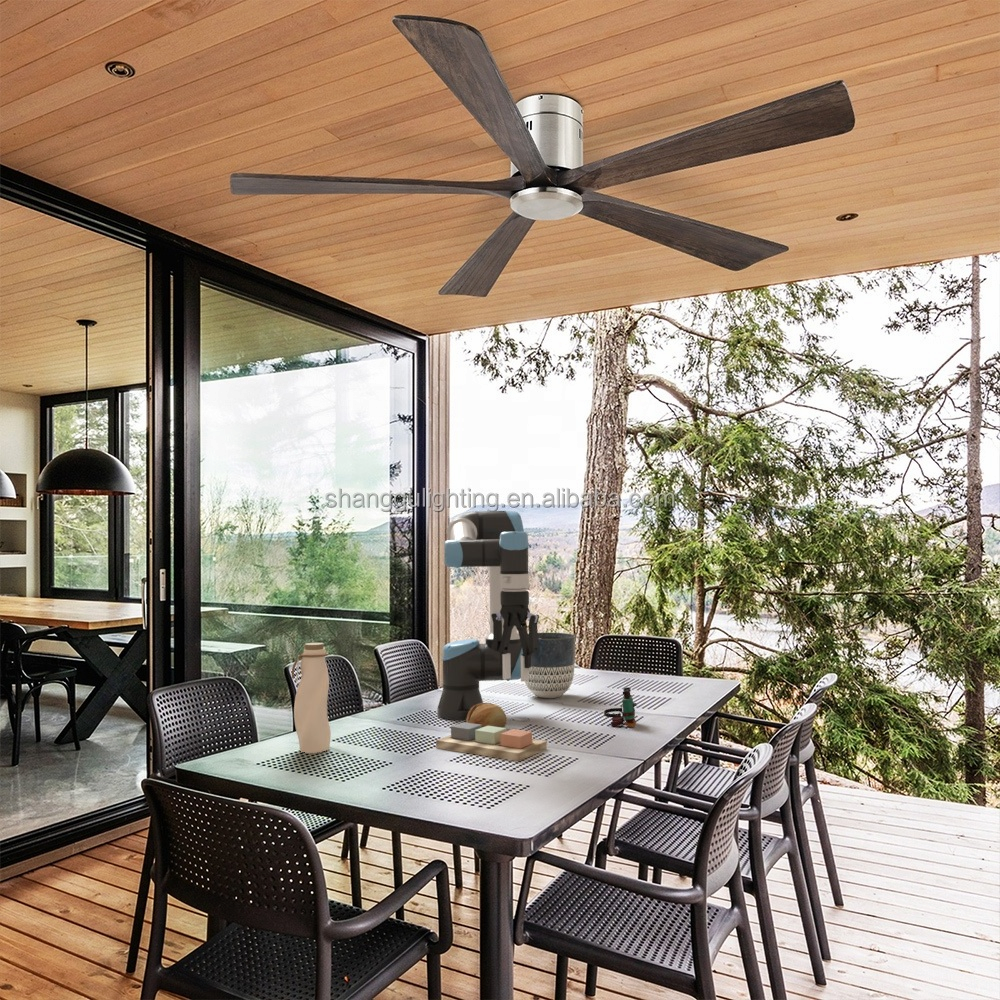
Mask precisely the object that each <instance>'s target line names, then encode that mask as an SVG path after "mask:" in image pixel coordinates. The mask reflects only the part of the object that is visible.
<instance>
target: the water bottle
mask: <svg viewBox="0 0 1000 1000" xmlns="http://www.w3.org/2000/svg"><path fill="white" fill-rule="evenodd" d="M325 649H326V648H325V647H324V642H308V643H307V642H306V643H304V649H303V652H302V653H301V654H297V658H296V659H295V661H294V662H293V665H292V669H291V678H292V679H295V668H296V679H295V683H296V684H297V683H298V682H299V684H298V685H297V689H296V693H295V697H294V707H293V718H294V719H293V720H294V726H295V730H296V735H297V739H298V743H299V752H300V751H301V752H300V753H302V752H305V753H304V754H318V753H317V752H320V753H323V752H322V751H325V752H327V751H329V750H330V747H331V746H330V745H331V735H332V732H331V725H330V722H329V719H328V697H329V687H330V678H329V670H328V665H327V663H326V662H327V661H326V657H327V656H329V652H326V650H325ZM300 659H301V661H300ZM299 665H300V666H299ZM299 668H300V669H299ZM299 670H300V674H301V678H300V681H299ZM328 749H329V750H328ZM326 750H327V751H326Z"/></svg>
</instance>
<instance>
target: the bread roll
mask: <svg viewBox="0 0 1000 1000" xmlns="http://www.w3.org/2000/svg"><path fill="white" fill-rule="evenodd" d="M465 720H466V723H473V724H480V725H482V728H483V727H485V726H494V727H501V728H506V725H507V724H508V723H507V722H508V718H507V715H506V713H505V710H503V707H501V706H499V705H497V704H495V703H491V702H483V703H480V704H477V705H474V706H473V707H472V708H471V709H470V710H469V712H468V715H467V719H465Z"/></svg>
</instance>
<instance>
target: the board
mask: <svg viewBox="0 0 1000 1000" xmlns="http://www.w3.org/2000/svg"><path fill="white" fill-rule="evenodd" d="M435 743H436V744H435V747H436V748H437V749H442V750H446V751H447V750H449V751H454V752H461V753H466V754H472V755H479V756H485V757H489V758H495V759H500V760H501V759H504V760H506V761H507V760H508V761H512V762H513V761H515V762H520V761H523V760H525V759H527V758H529V757H531V756H534V755H536V754H538V753H541V752H543V751H545V750H548V744H547V743H548V741H547V740H541V739H534V738H532V744H530V745H528V746H525V747H523V748H521V749H520V748H513V747H507V746H501V742H499V743H497V744H487V743H481V742H475V739H472V740H470V741H468V740H462V739H455V738H451V734H450V735H447V736H444V737H441V738H438V739H436V740H435Z"/></svg>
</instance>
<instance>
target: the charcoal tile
mask: <svg viewBox="0 0 1000 1000" xmlns="http://www.w3.org/2000/svg"><path fill="white" fill-rule="evenodd" d="M480 728H482V725H480V724H473V723H466V722H465V721H464V722H461V723H458V724H454V725H451V726H450V735H451V738H455V739H462V740H465V741H467V740H468V741H470V740H472V739H475V730H477V729H480Z"/></svg>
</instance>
